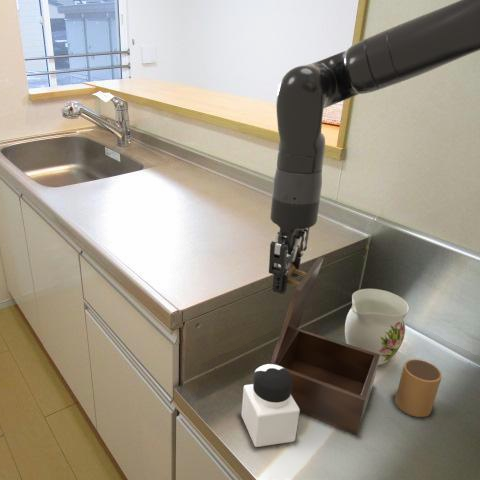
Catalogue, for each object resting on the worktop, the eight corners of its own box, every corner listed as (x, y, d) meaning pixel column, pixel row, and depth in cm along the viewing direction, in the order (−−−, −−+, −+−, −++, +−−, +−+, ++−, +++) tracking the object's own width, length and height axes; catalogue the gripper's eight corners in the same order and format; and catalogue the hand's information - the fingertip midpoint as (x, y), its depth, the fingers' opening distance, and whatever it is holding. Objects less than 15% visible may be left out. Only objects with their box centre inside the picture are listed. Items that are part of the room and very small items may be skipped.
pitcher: (421, 352, 95) (436, 296, 89) (367, 385, 86) (380, 325, 81) (374, 327, 104) (386, 274, 98) (321, 354, 95) (330, 298, 89)
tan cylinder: (426, 422, 78) (437, 386, 75) (390, 406, 82) (399, 371, 78) (434, 403, 82) (445, 368, 79) (400, 388, 85) (409, 354, 82)
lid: (323, 258, 82) (296, 247, 84) (300, 290, 72) (270, 277, 74) (298, 326, 90) (274, 315, 93) (274, 365, 80) (247, 351, 82)
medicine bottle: (296, 442, 75) (304, 385, 70) (254, 448, 74) (260, 391, 69) (278, 410, 81) (285, 356, 76) (240, 415, 80) (245, 361, 75)
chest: (372, 387, 86) (380, 354, 83) (356, 435, 76) (364, 400, 72) (292, 358, 94) (296, 327, 91) (268, 399, 84) (271, 365, 80)
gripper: (305, 212, 66) (293, 308, 73) (331, 186, 77) (318, 272, 84) (257, 203, 70) (250, 295, 77) (288, 180, 81) (279, 262, 88)
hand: (285, 283), depth 81 cm, fingers open, 6 cm apart
